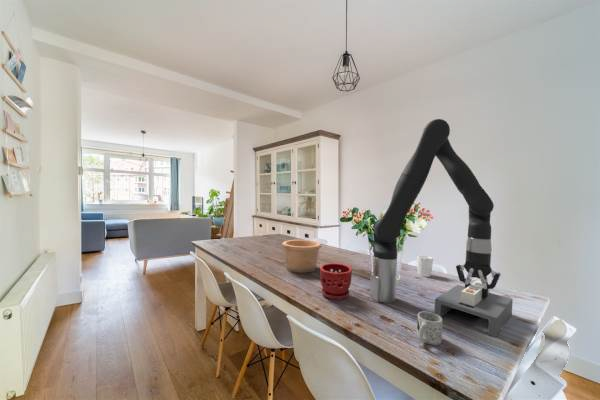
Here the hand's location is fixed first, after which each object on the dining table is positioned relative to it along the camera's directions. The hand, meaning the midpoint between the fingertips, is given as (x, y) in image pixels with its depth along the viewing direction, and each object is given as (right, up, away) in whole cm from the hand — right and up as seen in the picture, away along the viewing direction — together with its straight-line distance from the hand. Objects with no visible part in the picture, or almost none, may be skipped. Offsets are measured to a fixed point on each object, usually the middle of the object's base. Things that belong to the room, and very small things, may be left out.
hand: (476, 296), depth 95 cm
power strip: (0, -3, 0) cm, 3 cm away
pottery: (-64, -3, +51) cm, 82 cm away
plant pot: (-50, -5, +13) cm, 52 cm away
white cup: (+3, -6, +45) cm, 46 cm away
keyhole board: (-2, -6, -1) cm, 7 cm away
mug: (-27, -6, -19) cm, 34 cm away
